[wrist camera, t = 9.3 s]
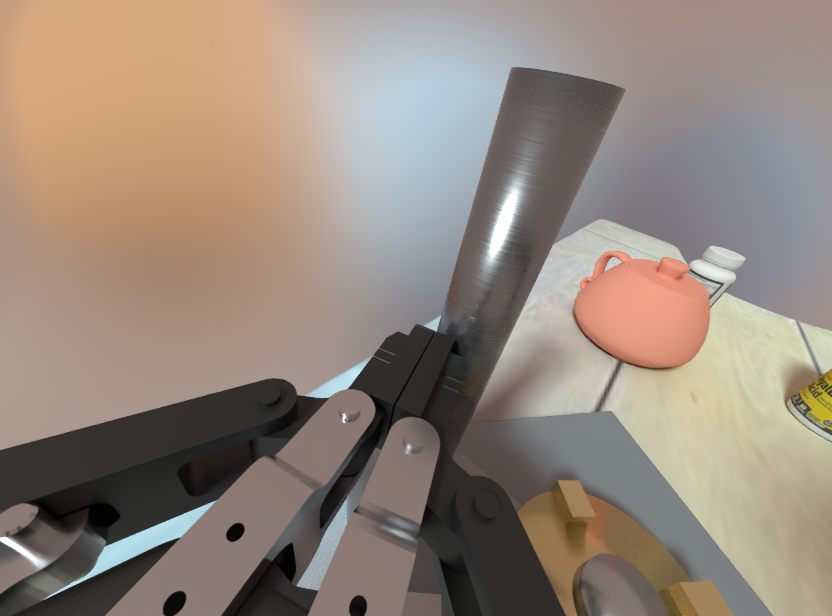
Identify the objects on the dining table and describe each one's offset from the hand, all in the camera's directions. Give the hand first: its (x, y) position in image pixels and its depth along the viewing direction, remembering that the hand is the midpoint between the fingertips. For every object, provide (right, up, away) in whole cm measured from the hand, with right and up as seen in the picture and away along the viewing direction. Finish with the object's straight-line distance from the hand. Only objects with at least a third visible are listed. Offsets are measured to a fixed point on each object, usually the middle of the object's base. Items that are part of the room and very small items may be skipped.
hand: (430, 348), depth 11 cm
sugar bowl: (+23, -2, +25) cm, 34 cm away
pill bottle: (+39, +2, +34) cm, 52 cm away
